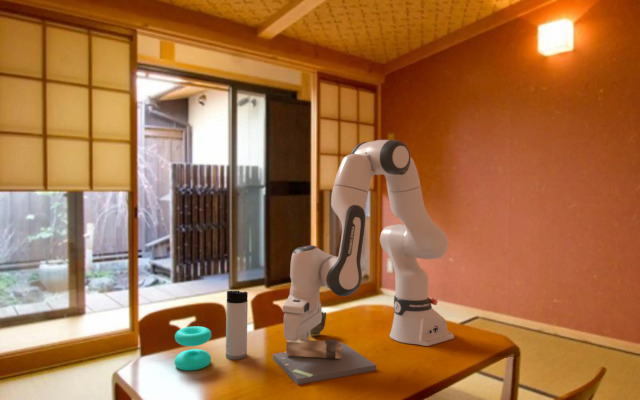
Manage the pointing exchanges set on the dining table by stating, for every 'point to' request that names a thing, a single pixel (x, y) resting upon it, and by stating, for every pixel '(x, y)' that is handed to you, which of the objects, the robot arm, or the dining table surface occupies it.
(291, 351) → the long tan beam
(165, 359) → the dining table surface
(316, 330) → the cup
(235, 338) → the travel mug
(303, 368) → the dial board
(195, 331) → the donuts
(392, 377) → the dining table surface
